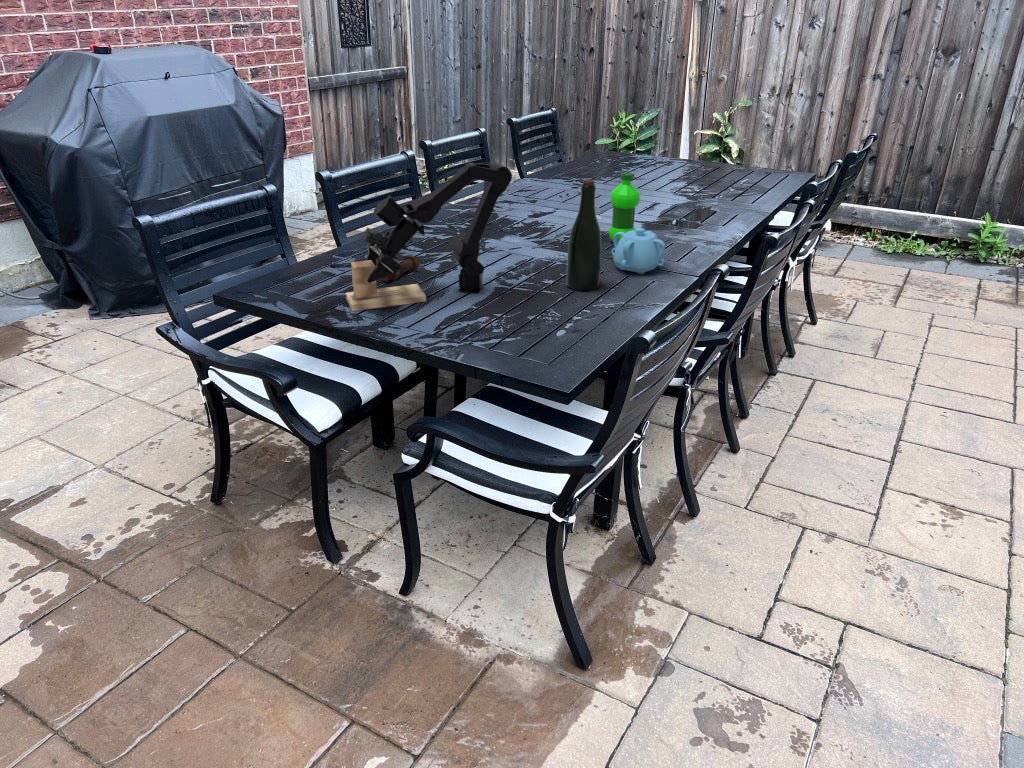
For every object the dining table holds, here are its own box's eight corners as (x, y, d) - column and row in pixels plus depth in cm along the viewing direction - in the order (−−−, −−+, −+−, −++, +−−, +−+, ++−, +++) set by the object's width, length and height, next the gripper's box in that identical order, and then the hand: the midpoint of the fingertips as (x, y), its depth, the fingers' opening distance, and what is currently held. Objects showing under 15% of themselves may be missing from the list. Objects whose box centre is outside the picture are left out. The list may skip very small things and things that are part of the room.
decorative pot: (608, 260, 256) (611, 221, 250) (654, 260, 257) (658, 221, 250) (616, 277, 242) (619, 236, 235) (665, 276, 243) (669, 236, 236)
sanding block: (373, 292, 222) (371, 260, 217) (377, 297, 218) (374, 265, 213) (353, 294, 220) (350, 262, 216) (357, 300, 216) (354, 267, 211)
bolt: (382, 288, 236) (411, 272, 247) (393, 283, 233) (421, 268, 244) (374, 271, 235) (403, 256, 246) (384, 266, 232) (413, 251, 243)
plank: (417, 289, 230) (417, 283, 229) (426, 301, 222) (425, 294, 221) (346, 298, 223) (345, 292, 222) (352, 311, 214) (351, 304, 214)
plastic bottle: (632, 248, 268) (639, 178, 256) (604, 245, 270) (609, 176, 259) (637, 240, 276) (644, 172, 264) (610, 237, 279) (615, 170, 267)
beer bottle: (603, 290, 231) (610, 184, 215) (570, 292, 229) (575, 185, 213) (594, 279, 240) (601, 175, 224) (562, 280, 238) (567, 176, 222)
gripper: (372, 210, 218) (338, 250, 220) (386, 227, 203) (349, 270, 204) (400, 233, 224) (366, 272, 226) (415, 252, 209) (379, 293, 211)
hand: (365, 276), depth 216 cm, fingers open, 9 cm apart
